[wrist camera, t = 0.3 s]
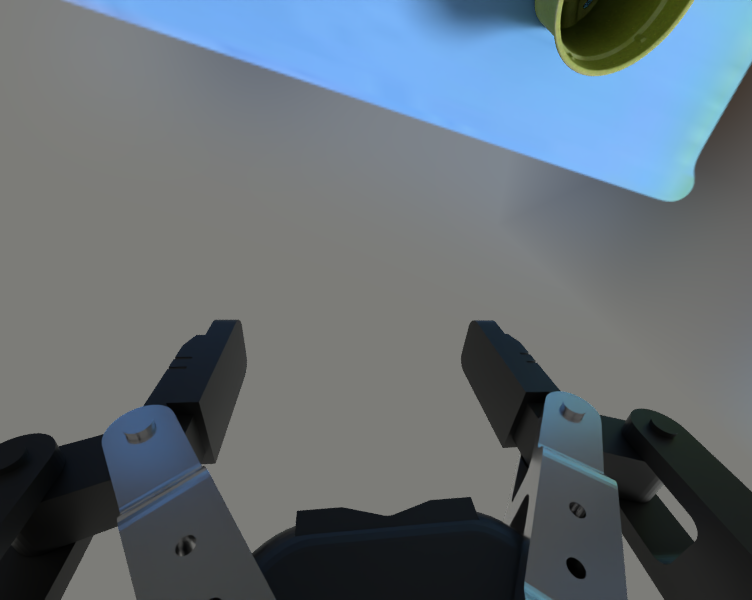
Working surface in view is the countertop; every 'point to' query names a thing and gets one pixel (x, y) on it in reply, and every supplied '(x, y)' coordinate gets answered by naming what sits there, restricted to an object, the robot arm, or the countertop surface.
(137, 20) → the countertop surface
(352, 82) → the countertop surface
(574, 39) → the plant pot
